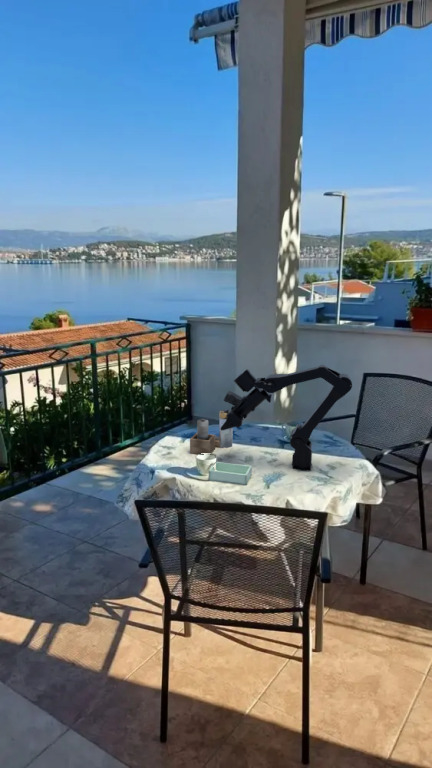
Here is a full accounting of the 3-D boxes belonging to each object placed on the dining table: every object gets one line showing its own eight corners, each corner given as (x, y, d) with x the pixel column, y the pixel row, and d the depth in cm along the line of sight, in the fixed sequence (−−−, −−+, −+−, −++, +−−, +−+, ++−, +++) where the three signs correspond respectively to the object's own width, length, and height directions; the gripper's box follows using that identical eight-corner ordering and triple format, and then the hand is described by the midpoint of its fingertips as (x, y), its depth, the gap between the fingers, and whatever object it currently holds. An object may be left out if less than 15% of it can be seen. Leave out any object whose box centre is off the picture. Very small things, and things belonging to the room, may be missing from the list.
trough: (251, 475, 175) (251, 466, 175) (246, 485, 167) (246, 475, 166) (215, 470, 179) (215, 461, 178) (208, 480, 171) (208, 470, 170)
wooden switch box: (227, 443, 208) (227, 435, 207) (223, 448, 202) (223, 440, 201) (208, 441, 210) (208, 433, 209) (204, 446, 204) (204, 438, 203)
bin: (214, 449, 201) (215, 417, 198) (209, 455, 193) (209, 423, 190) (196, 446, 203) (196, 415, 200) (189, 453, 195) (189, 421, 192)
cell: (233, 444, 190) (234, 408, 187) (230, 448, 185) (231, 412, 182) (221, 442, 191) (221, 407, 188) (217, 447, 187) (217, 411, 184)
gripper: (241, 379, 191) (212, 405, 196) (232, 390, 173) (202, 418, 178) (260, 400, 191) (232, 426, 196) (254, 413, 174) (223, 441, 178)
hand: (222, 427), depth 187 cm, fingers closed on cell, 5 cm apart
